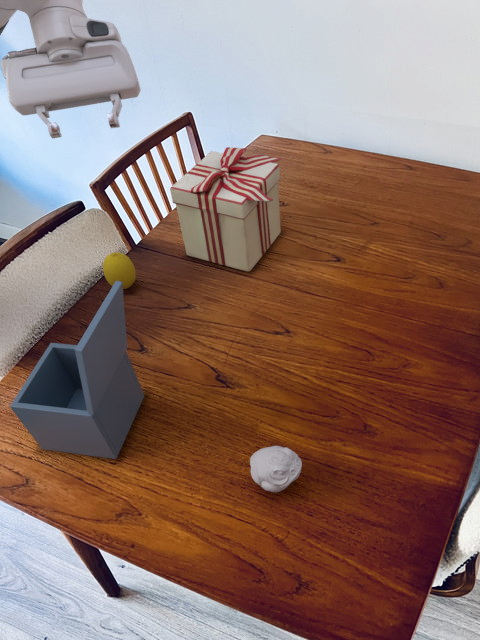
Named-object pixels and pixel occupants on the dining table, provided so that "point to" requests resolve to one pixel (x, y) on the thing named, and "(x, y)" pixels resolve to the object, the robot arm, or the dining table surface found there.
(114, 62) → the robot arm
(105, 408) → the chest
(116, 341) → the chest lid
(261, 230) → the gift box
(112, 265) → the lemon
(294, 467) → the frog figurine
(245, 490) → the dining table surface
